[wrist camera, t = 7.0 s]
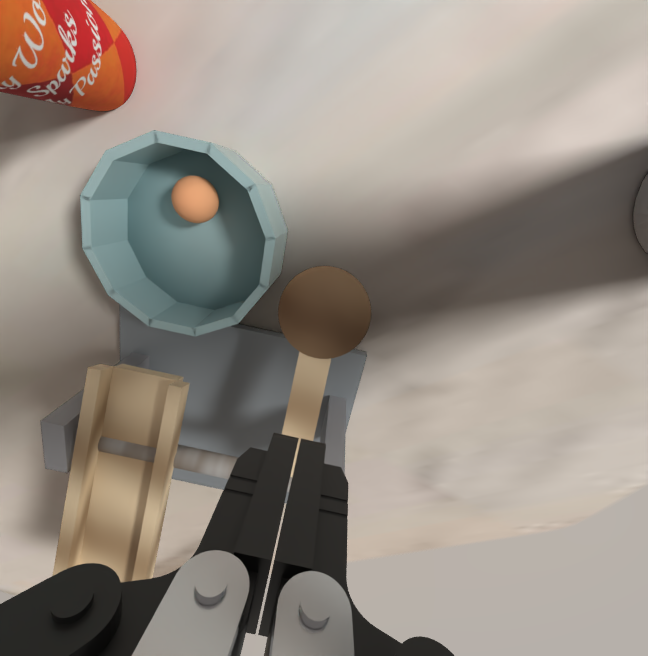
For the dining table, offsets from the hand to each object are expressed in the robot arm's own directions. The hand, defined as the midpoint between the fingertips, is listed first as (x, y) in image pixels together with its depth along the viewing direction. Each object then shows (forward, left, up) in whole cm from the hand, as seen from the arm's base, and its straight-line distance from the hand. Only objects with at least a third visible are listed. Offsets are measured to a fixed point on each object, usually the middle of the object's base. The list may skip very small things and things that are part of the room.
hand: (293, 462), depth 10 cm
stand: (+6, +13, -19) cm, 24 cm away
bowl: (+10, -2, -19) cm, 21 cm away
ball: (+10, -5, -17) cm, 20 cm away
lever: (+5, +12, -10) cm, 16 cm away
